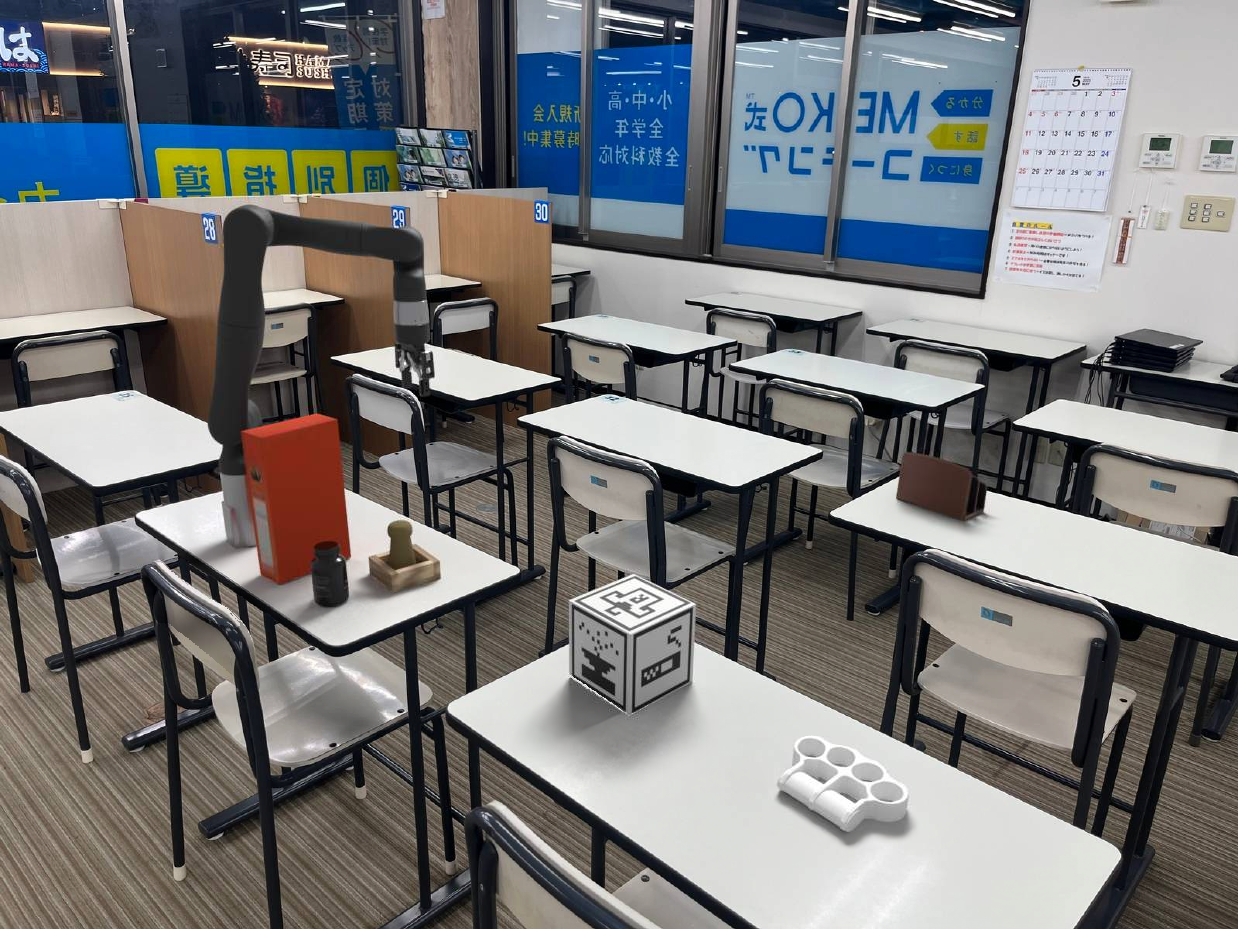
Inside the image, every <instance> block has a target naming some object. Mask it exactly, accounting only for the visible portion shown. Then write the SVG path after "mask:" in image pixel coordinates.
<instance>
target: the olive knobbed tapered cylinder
mask: <svg viewBox="0 0 1238 929" xmlns="http://www.w3.org/2000/svg"><path fill="white" fill-rule="evenodd" d="M386 531H387V532H386V533H387V536H388V537H389V538H390V541H389V542H390V543H389V551H390V555H389V566H390V567H391V568H392V569H394V570H398V569H402V568H405V567H409V566H412V565H416V560H415V555H414V551H413V546H412V545H413V543H412V538H411V536H412V535H413V532H414V531H413V524H411V522H410V521H408V520H405V519H398V520H394V521H392V522H390V523H389V524H388V525H387V529H386Z"/></svg>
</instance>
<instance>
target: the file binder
mask: <svg viewBox="0 0 1238 929" xmlns="http://www.w3.org/2000/svg"><path fill="white" fill-rule="evenodd" d="M241 435H242V443H243V450H244V457H245V465H246V472H247V479H248V487H249V494H250V501H251V509H252V516H253V523H254V531H255V538H256V545H255V546H256V550H257V560H258V565H259V574H260V576H261V577H263V578H266V579H268V580H270V581H271V582H274V584H275V583H276V584H278V585H284V584H285V583H286V584H287V583H288V582H290V581H294V580H297V579H298V578H301V577H305V576H306V575H308V574H311V568H310V563H311V561H312V559H313V558H315V556H314V546H315V545H316V544H318V543H320V542H324V541H335V542H337V543H339V548H340V554H341V555H342V556H344V558H345V559H346V560H349V559H350V558H352V553H351V550H352V549H351V542H350V540H351V539H350V533H349V532H350V531H349V521H348V513H347V512H348V511H347V501H346V491H345V482H344V480H345V479H344V473H343V463H342V461H343V460H342V452H341V450H342V448H341V441H340V432H339V422H338V419H337V418H333V417H330V416H327V415H323V414H319V413H313V414H309V415H305V416H304V415H303V416H300V417H297V418H292V419H288V420H284V421H279V422H275V423H271V424H266V425H263V426H262V427H257V428H253V429H249V430H245V431H241Z"/></svg>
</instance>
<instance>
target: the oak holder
mask: <svg viewBox="0 0 1238 929" xmlns="http://www.w3.org/2000/svg"><path fill="white" fill-rule="evenodd" d="M412 546H413V551H414V555H415V560H416V565H412V566H409V567H405V568H402V569H398V570H394V569H392V568H391V567H390V566H389V555H390V550H387V551H384V552H380V553H377V554H373V555H370V556H368V557H367V558H368V568H369V574H370V575H371V576H372V577H373V578H374V579H376V580H377V581H378V582H379V583H380V584H381V585H383V586H384V587H385V588H386V589H387V590H389V591H390V592H391V593H396V592H400V591H403V590H406V589H410V588H412V587H415V586H419V585H422V584H426V583H428V582H432V581H435V580H438V578H439V579H441V578H442V574H441V561H440V560H439V559H438V558H436V557H435V556H434V555H432V554H431V553H430V552H429V551H427V550H425V549H424V548H422V547H421V546H419V545H418V544H417V543H414V544H413V543H412Z"/></svg>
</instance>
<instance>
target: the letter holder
mask: <svg viewBox="0 0 1238 929" xmlns="http://www.w3.org/2000/svg"><path fill="white" fill-rule="evenodd" d="M987 494H988V486H987V483H985V482H983V481H982V480H980V479H979V478H978V477H976V476H974V475H973V472H972V471H971V470H970V469H968V468H966V467H965V466H961V465H960V464H956V463H954V462H951V461H948V460H945V459H943V458H940V457H936V456H932V455H929V454H928V455H927V454H923V453H915V452H907V451H905V452H903V453H902V456H901V462H900V470H899V476H898V484H897V490H896V495H895V497H896V498H895V499H896V500H900V501H902V502H906V503H909V504H913V505H914V506H918V507H921V508H924V509H926V510H930V511H932V512H936V513H939V514H942V515H945V516H948V517H951V518H954V519H957V520H959V521H962V522H964V521H967V520H969V519H971V518H974V517H975V516H977V515H981V514H982V513H984V512H985V508H986V507H985V506H986V500H987V499H986V498H987Z"/></svg>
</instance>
